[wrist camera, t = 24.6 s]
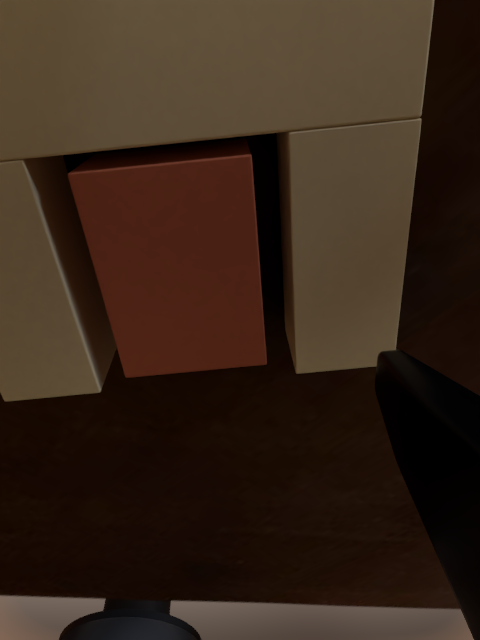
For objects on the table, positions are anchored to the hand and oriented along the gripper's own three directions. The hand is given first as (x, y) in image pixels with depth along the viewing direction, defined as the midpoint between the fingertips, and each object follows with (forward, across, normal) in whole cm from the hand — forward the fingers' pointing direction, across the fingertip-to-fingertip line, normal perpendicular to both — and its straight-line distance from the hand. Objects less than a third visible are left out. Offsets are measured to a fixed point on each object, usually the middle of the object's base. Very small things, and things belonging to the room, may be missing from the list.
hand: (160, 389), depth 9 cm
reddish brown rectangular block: (+8, 0, 0) cm, 8 cm away
